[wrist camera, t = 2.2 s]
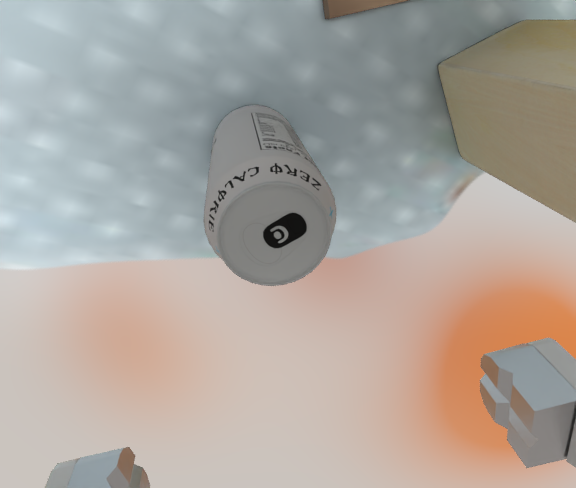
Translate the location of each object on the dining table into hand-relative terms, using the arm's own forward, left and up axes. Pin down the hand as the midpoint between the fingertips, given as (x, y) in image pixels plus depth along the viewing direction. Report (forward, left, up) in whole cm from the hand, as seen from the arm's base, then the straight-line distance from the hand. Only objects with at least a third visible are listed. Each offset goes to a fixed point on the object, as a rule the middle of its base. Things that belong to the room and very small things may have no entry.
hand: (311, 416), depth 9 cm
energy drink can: (0, 0, -24) cm, 24 cm away
